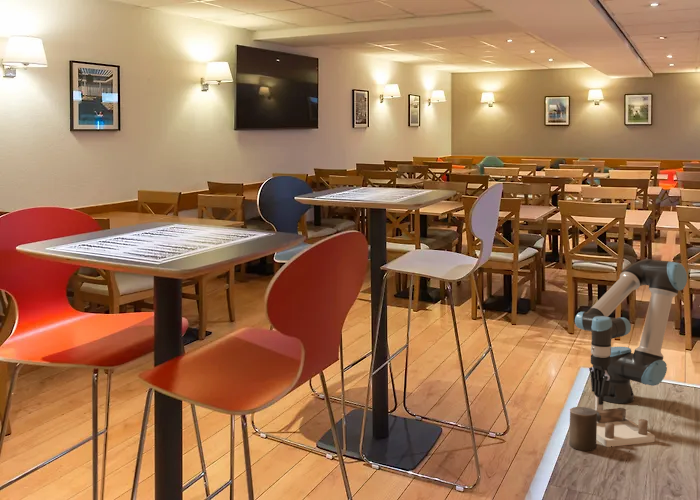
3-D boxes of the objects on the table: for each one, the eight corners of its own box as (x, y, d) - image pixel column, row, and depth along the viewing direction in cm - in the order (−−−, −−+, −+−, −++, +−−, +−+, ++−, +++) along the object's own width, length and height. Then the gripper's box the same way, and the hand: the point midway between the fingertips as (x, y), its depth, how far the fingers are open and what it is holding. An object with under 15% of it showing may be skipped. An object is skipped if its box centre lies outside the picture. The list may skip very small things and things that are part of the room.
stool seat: (623, 422, 269) (623, 404, 268) (654, 441, 249) (655, 423, 248) (578, 426, 265) (578, 408, 264) (606, 447, 246) (607, 427, 245)
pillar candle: (596, 452, 241) (597, 413, 239) (568, 449, 245) (569, 410, 243) (596, 442, 250) (597, 404, 248) (569, 439, 254) (570, 401, 252)
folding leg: (622, 417, 267) (622, 407, 267) (627, 420, 264) (627, 410, 263) (593, 419, 265) (594, 409, 264) (598, 423, 261) (599, 413, 261)
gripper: (583, 351, 271) (582, 406, 273) (601, 360, 258) (599, 417, 261) (600, 350, 272) (598, 404, 275) (618, 358, 259) (616, 416, 262)
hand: (598, 411), depth 268 cm, fingers closed
